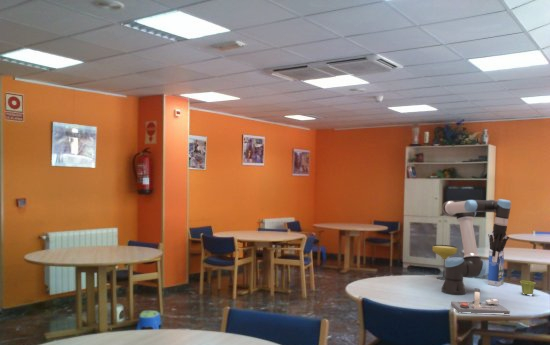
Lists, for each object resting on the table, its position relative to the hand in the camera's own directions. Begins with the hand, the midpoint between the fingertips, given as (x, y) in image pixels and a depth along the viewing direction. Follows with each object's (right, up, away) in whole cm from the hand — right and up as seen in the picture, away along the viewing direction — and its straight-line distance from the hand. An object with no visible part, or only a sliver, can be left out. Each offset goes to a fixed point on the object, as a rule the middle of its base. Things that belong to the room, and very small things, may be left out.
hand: (494, 261), depth 294 cm
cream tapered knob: (-19, -23, -19) cm, 35 cm away
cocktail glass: (-5, -27, +73) cm, 78 cm away
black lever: (-15, -23, -10) cm, 30 cm away
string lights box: (+28, -28, +59) cm, 71 cm away
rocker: (-6, -22, -11) cm, 26 cm away
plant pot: (+36, -28, +28) cm, 53 cm away
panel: (-16, -26, -14) cm, 34 cm away
